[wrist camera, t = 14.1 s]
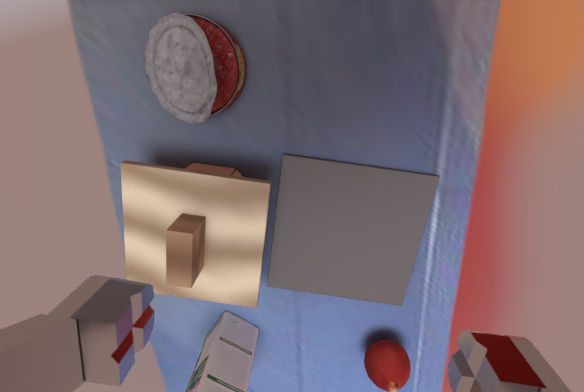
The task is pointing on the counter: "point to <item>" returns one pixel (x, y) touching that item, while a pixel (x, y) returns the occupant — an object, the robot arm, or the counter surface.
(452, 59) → the counter surface
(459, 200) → the counter surface
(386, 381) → the onion
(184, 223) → the lid
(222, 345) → the syrup box
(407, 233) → the mat
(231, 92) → the canned food
